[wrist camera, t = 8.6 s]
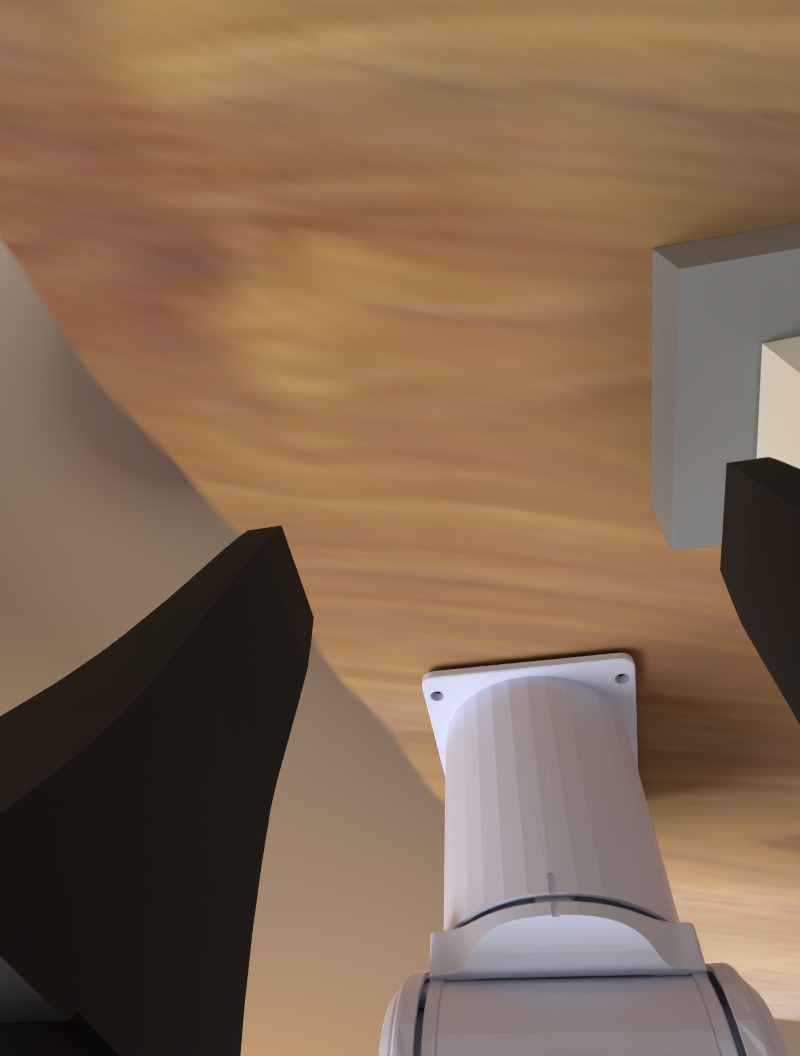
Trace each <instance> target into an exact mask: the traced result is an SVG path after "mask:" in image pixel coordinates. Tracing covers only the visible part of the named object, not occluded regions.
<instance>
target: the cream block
mask: <svg viewBox="0 0 800 1056" xmlns="http://www.w3.org/2000/svg"><path fill="white" fill-rule="evenodd" d="M765 457H771V458H774V459H777V460H779V461H782V462H785V463H787V464H789V465H792V466H794V467H796V468H799V469H800V336H798V337H793V338H788V339H783V340H778V341H772V342H767V343H762V356H761V377H760V397H759V417H758V438H757V458H756V459H758V458H765Z"/></svg>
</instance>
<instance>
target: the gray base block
mask: <svg viewBox="0 0 800 1056" xmlns="http://www.w3.org/2000/svg"><path fill="white" fill-rule="evenodd" d="M798 336H800V222H796V223H791V224H785V225H780V226H774V227H768V228H763V229H757V230H752V231H746V232H741V233H735V234H730V235H724V236H719V237H713V238H708V239H702V240H697V241H691V242H685V243H680V244H674V245H669V246H663V247H658V248H652V366H651V498H650V507H651V509H652V511H653V513H654V515H655V518H656V520H657V522H658V524H659V526H660V528H661V530H662V532H663V534H664V536H665V538H666V541H667V543H668V545H669V547H670V549H671V551H673V550H682V549H691V548H700V547H709V546H718V545H722V531H723V514H724V497H725V480H726V463H729V462H736V461H743V460H751V459H756V458H757V438H758V417H759V397H760V377H761V356H762V343H767V342H772V341H778V340H783V339H788V338H793V337H798Z"/></svg>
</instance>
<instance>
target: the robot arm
mask: <svg viewBox="0 0 800 1056" xmlns="http://www.w3.org/2000/svg"><path fill="white" fill-rule="evenodd" d="M720 571H721V573H722V576H723V579H724V581H725V584H726V587H727V589H728V592H729V594H730V597H731V600H732V602H733V604H734V607H735V609H736V612H737V614H738V616H739V619H740V621H741V623H742V625H743V627H744V629H745V631H746V632H747V634H748V636H749V638H750V639H751V641H752V643H753V645H754V646H755V648H756V650H757V652H758V653H759V655H760V657H761V659H762V660H763V662H764V664H765V665H766V667H767V669H768V671H769V672H770V674H771V676H772V677H773V679H774V681H775V683H776V684H777V686H778V688H779V689H780V691H781V693H782V694H783V696H784V698H785V700H786V701H787V703H788V705H789V706H790V708H791V710H792V712H793V713H794V715H795V717H796V718H797V720H798V722H799V723H800V469H799V468H796V467H794V466H792V465H789V464H787V463H785V462H782V461H779V460H777V459H774V458H771V457H765V458H758V459H751V460H743V461H736V462H729V463H726V480H725V497H724V514H723V531H722V548H721V565H720ZM313 618H314V617H313V614H312V611H311V609H310V606H309V603H308V600H307V597H306V594H305V591H304V589H303V586H302V583H301V580H300V577H299V574H298V571H297V569H296V566H295V563H294V560H293V557H292V554H291V551H290V549H289V546H288V543H287V540H286V537H285V534H284V531H283V529H282V526H276V527H269V528H262V529H255V530H248V531H247V532H245V533H244V534H242V535H241V536H240V537H238V538H237V539H236V540H235V541H233V542H232V543H231V544H230V545H229V546H228V547H226V548H225V549H224V550H223V551H222V552H221V553H219V554H218V555H217V556H216V557H215V558H214V559H213V560H211V561H210V562H209V563H208V564H207V565H206V566H205V567H204V568H202V569H201V570H200V571H199V572H198V573H197V574H196V575H195V576H193V577H192V578H191V579H190V580H189V581H188V582H187V583H186V584H184V585H183V586H182V587H181V588H180V589H179V590H178V591H176V592H175V593H174V594H173V595H172V596H171V597H170V598H169V599H167V600H166V601H165V602H164V603H162V604H161V605H160V606H159V607H158V608H156V609H155V610H154V611H153V612H151V613H150V614H149V615H148V616H146V617H145V618H144V619H143V620H142V621H140V622H139V623H138V624H137V625H136V626H134V627H133V628H132V629H131V630H129V631H128V632H127V633H126V634H124V635H123V636H122V637H121V638H119V639H118V640H117V641H115V642H114V643H113V644H111V645H110V646H109V647H107V648H106V649H105V650H103V651H102V652H101V653H99V654H98V655H96V656H95V657H94V658H92V659H91V660H89V661H88V662H86V663H85V664H83V665H82V666H80V667H79V668H78V669H76V670H75V671H73V672H72V673H70V674H69V675H67V676H66V677H64V678H63V679H61V680H60V681H58V682H57V683H55V684H53V685H52V686H50V687H49V688H47V689H45V690H43V691H42V692H40V693H38V694H37V695H35V696H34V697H32V698H30V699H28V700H27V701H25V702H23V703H22V704H20V705H18V706H17V707H15V708H14V709H12V710H10V711H8V712H7V713H5V714H3V715H2V716H0V1056H240V1054H241V1042H242V1029H243V1017H244V1005H245V996H246V987H247V977H248V967H249V959H250V950H251V941H252V932H253V923H254V916H255V909H256V902H257V894H258V887H259V880H260V872H261V865H262V859H263V853H264V846H265V840H266V834H267V828H268V822H269V815H270V809H271V805H272V800H273V796H274V791H275V787H276V782H277V779H278V775H279V772H280V768H281V764H282V760H283V757H284V753H285V750H286V746H287V742H288V739H289V735H290V732H291V728H292V724H293V721H294V717H295V713H296V710H297V706H298V702H299V699H300V695H301V691H302V687H303V683H304V680H305V676H306V672H307V668H308V661H309V653H310V646H311V637H312V628H313ZM619 674H625V675H623V676H617V675H619ZM422 688H423V692H424V696H425V700H426V704H427V708H428V712H429V715H430V719H431V723H432V727H433V731H434V735H435V739H436V743H437V746H438V750H439V754H440V758H441V762H442V766H443V770H444V773H445V777H446V788H445V874H444V876H445V877H444V931H437V932H433V933H432V934H431V944H430V971H412V972H410V973H409V974H408V975H407V976H406V978H405V979H404V981H403V983H402V986H401V988H400V989H399V990H398V991H397V993H396V994H395V995H394V997H393V998H392V1000H391V1002H390V1004H389V1007H388V1009H387V1012H386V1016H385V1020H384V1024H383V1029H382V1035H381V1042H380V1049H379V1056H789V1054H788V1051H787V1049H786V1046H785V1043H784V1041H783V1039H782V1036H781V1034H780V1031H779V1029H778V1027H777V1025H776V1023H775V1020H774V1018H773V1016H772V1014H771V1012H770V1010H769V1009H768V1007H767V1005H766V1003H765V1002H764V1000H763V999H762V997H761V996H760V995H759V993H758V992H757V991H756V990H755V989H754V988H752V987H751V986H750V985H749V984H748V983H747V982H746V981H744V980H743V979H742V978H741V976H740V975H739V974H738V973H737V971H736V970H735V969H734V968H733V967H731V966H730V965H728V964H726V963H712V964H705V962H704V958H703V955H702V951H701V948H700V944H699V941H698V938H697V934H696V931H695V927H694V925H693V924H691V923H680V922H679V919H678V915H677V911H676V908H675V904H674V901H673V897H672V893H671V890H670V886H669V882H668V879H667V875H666V871H665V868H664V864H663V860H662V857H661V853H660V849H659V846H658V842H657V838H656V835H655V831H654V827H653V824H652V820H651V816H650V813H649V809H648V805H647V802H646V798H645V794H644V791H643V787H642V783H641V780H640V776H639V772H638V752H637V713H636V674H635V664H634V661H633V658H632V657H631V656H630V655H629V654H626V653H612V654H602V655H592V656H582V657H572V658H562V659H552V660H542V661H532V662H522V663H511V664H501V665H491V666H481V667H471V668H461V669H451V670H441V671H432V672H428V673H427V674H425V675H424V677H423V681H422ZM436 691H437V692H441V693H434V692H436Z"/></svg>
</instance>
